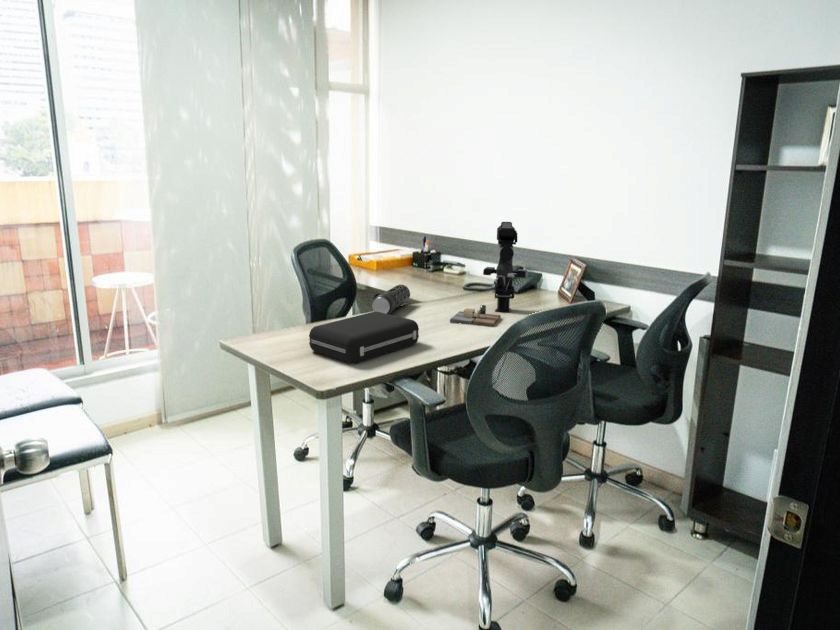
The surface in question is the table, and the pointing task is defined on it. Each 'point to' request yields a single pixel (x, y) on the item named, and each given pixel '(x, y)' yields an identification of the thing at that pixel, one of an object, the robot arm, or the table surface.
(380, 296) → the dark grey textured cylinder
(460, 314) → the board
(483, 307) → the steel bolt
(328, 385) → the table surface
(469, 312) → the brass keeper
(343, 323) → the briefcase
